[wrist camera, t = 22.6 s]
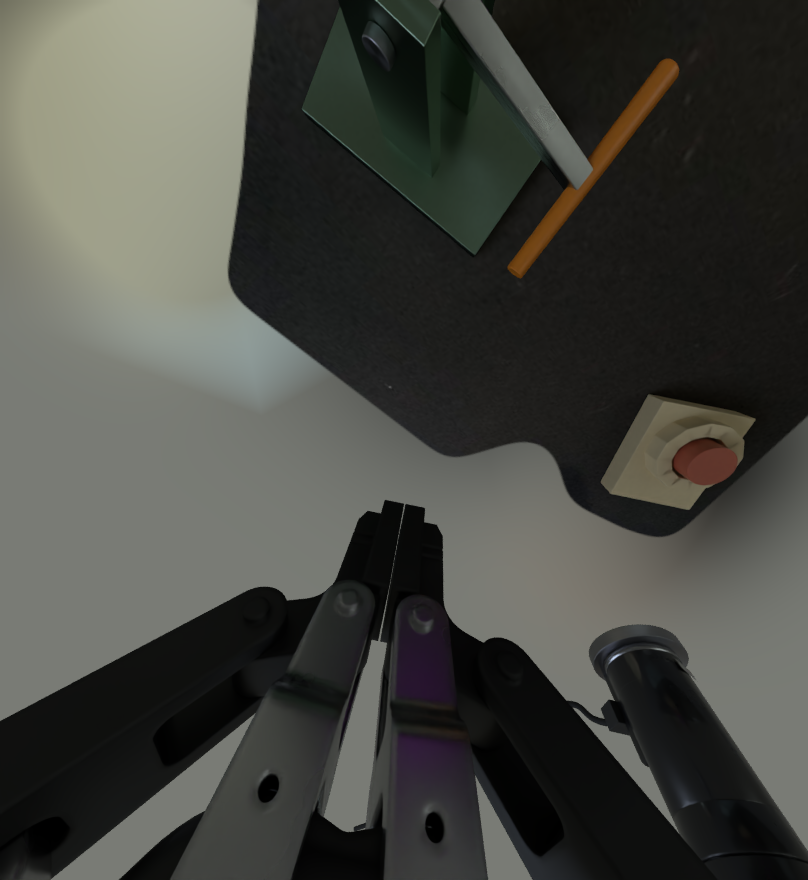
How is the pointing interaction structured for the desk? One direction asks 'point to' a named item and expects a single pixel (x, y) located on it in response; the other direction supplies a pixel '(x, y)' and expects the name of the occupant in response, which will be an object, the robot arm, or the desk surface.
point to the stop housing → (669, 449)
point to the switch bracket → (419, 116)
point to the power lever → (543, 115)
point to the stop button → (705, 462)
